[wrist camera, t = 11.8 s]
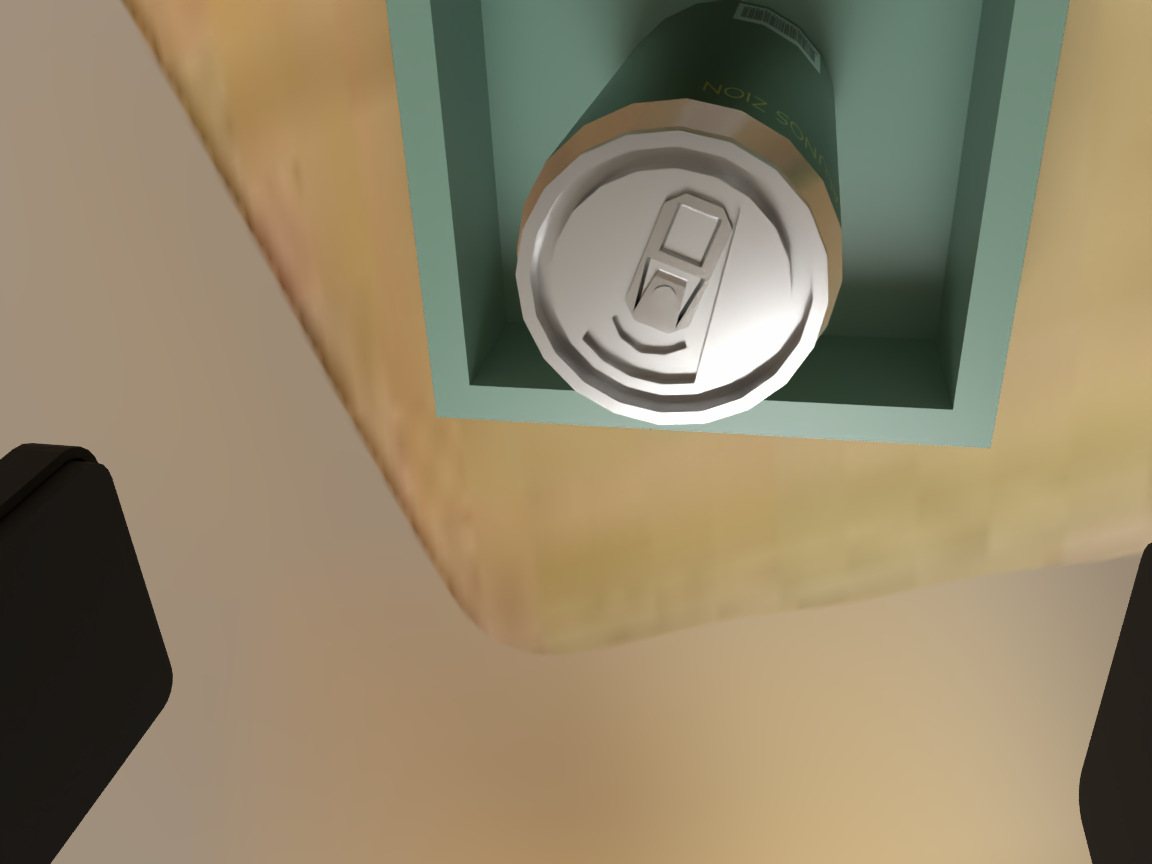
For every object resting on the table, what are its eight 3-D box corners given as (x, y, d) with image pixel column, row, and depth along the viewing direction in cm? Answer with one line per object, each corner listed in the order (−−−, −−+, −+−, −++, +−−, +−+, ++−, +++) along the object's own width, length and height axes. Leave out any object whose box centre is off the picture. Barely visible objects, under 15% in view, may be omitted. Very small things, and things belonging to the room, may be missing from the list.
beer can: (665, -41, 25) (561, 56, 15) (873, 44, 25) (911, 197, 15) (591, 166, 28) (462, 365, 18) (779, 242, 28) (757, 483, 18)
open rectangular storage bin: (1055, -224, 23) (1110, -233, 19) (964, 358, 30) (990, 448, 26) (436, -192, 26) (362, -194, 21) (485, 338, 32) (436, 416, 28)
